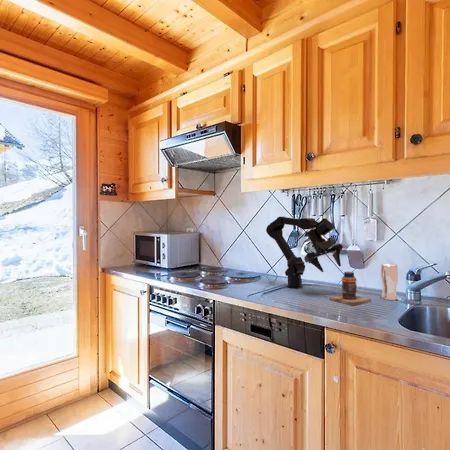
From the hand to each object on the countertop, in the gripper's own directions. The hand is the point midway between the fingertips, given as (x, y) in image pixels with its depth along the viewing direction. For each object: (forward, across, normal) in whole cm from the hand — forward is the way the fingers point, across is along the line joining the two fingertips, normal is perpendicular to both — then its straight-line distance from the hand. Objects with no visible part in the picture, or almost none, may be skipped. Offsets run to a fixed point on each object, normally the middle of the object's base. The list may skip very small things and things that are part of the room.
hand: (331, 269), depth 145 cm
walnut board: (+16, -1, -4) cm, 17 cm away
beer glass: (+21, +18, -2) cm, 27 cm away
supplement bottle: (+15, -1, -4) cm, 16 cm away
